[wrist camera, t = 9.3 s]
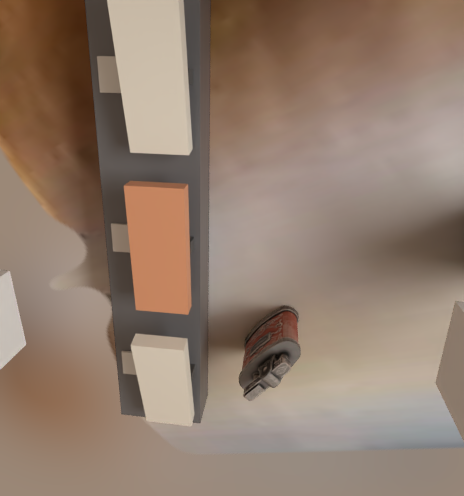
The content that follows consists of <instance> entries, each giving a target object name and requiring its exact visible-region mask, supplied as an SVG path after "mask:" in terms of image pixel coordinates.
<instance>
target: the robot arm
mask: <svg viewBox="0 0 464 496" xmlns="http://www.w3.org/2000/svg"><path fill="white" fill-rule="evenodd" d="M25 345H26V341H25V337H24V332H23V328H22V323H21V319H20V315H19V310H18V305H17V301H16V297H15V292H14V287H13V283H12V279H11V274H10V271H9V270H0V369H1V368H2V367H3V366H5V364H6V363H8V362H9V361H10V360H11V359H12V357H14V356H15V355H16V354H17V353H18V352H19V351H20V350H21V349H22V348H23V347H24V346H25ZM436 385H437V387H438V389H439V391H440V393H441V395H442V397H443V399H444V401H445V403H446V405H447V408H448V410H449V412H450V414H451V416H452V418H453V420H454V422H455V424H456V426H457V428H458V430H459V432H460V434H461V437H462V439H463V441H464V302H459V301H455V305H454V309H453V313H452V317H451V321H450V325H449V329H448V333H447V338H446V342H445V346H444V350H443V354H442V358H441V362H440V366H439V370H438V375H437V379H436Z"/></svg>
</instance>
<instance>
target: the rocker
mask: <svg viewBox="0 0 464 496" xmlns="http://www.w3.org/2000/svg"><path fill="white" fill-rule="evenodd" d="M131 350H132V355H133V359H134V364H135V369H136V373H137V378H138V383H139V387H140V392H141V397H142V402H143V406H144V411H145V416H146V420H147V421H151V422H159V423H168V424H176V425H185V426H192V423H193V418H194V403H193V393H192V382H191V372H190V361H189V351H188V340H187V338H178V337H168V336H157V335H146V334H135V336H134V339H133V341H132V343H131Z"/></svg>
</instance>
